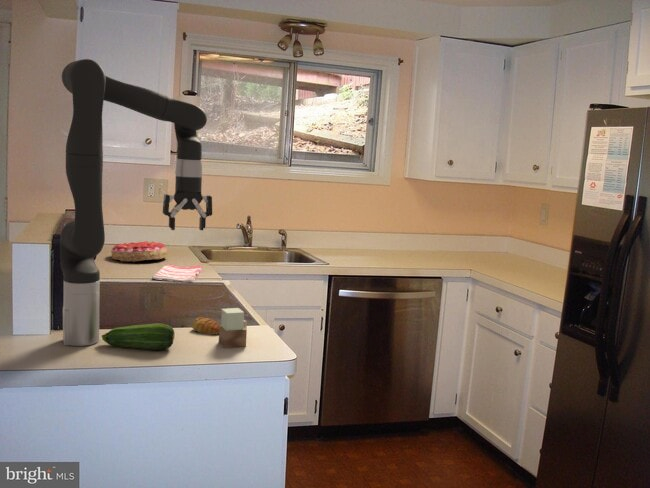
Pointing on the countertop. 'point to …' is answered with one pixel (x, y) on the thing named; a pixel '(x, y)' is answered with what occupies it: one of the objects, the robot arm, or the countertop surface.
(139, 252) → the cake
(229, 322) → the sage cube
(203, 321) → the pastry
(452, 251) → the countertop surface
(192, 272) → the dish towel
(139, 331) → the vegetable
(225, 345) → the walnut block
